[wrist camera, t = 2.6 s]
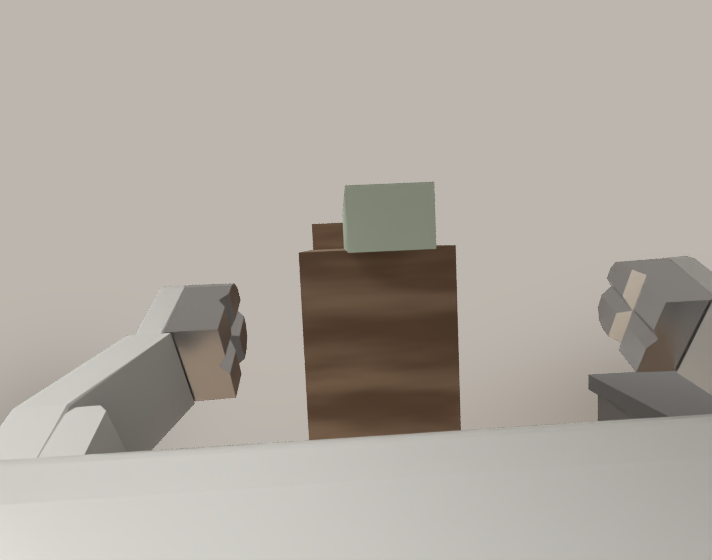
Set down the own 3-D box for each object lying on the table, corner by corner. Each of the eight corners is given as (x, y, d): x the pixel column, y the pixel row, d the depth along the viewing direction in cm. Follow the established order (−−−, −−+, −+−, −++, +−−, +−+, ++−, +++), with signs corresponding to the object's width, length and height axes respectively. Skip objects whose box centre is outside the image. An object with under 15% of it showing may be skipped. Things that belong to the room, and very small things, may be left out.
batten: (436, 248, 21) (434, 181, 21) (348, 252, 21) (345, 185, 20) (389, 246, 41) (387, 212, 41) (344, 248, 41) (342, 214, 40)
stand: (497, 644, 31) (487, 203, 29) (290, 659, 31) (263, 213, 28) (438, 493, 50) (429, 220, 48) (309, 501, 50) (294, 226, 47)
